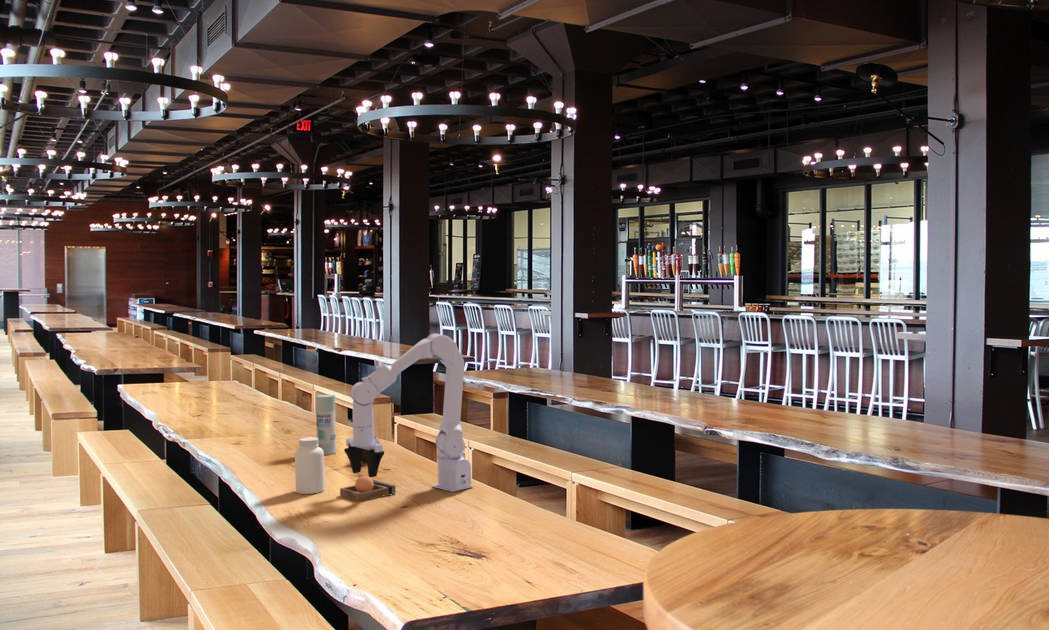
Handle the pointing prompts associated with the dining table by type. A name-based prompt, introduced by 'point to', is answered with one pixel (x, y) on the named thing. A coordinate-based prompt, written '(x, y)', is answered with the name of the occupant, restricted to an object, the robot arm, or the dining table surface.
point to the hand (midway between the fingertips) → (364, 474)
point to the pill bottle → (309, 466)
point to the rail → (390, 486)
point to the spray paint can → (326, 423)
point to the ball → (364, 484)
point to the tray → (355, 495)
